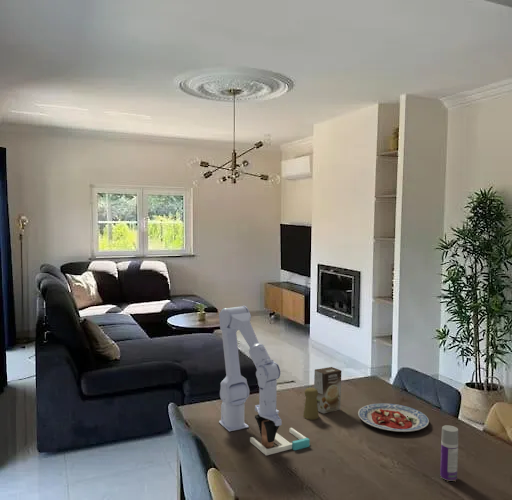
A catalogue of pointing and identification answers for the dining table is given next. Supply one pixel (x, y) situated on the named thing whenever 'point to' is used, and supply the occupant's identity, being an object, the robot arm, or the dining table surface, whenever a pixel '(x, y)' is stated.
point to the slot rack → (283, 443)
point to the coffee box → (328, 389)
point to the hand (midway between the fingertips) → (267, 438)
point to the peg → (265, 436)
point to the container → (449, 453)
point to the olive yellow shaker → (311, 404)
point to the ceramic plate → (393, 417)
